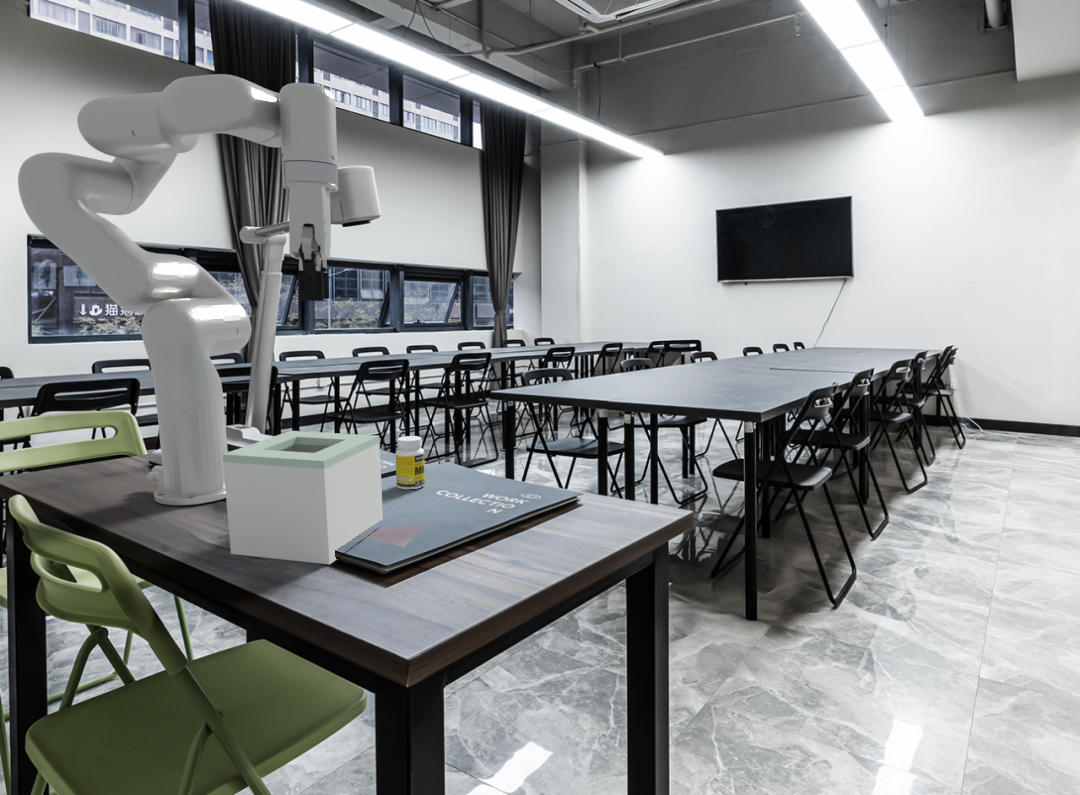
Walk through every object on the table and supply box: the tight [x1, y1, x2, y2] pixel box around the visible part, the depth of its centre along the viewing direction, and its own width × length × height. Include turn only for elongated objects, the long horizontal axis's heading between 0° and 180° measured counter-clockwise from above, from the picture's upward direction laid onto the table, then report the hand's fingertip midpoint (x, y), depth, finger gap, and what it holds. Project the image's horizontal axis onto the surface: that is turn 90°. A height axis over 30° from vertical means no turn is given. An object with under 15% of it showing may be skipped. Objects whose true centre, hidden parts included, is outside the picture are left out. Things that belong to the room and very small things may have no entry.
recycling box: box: [223, 430, 384, 565], centre depth 89 cm, size 14×14×13 cm
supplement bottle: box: [395, 435, 426, 489], centre depth 112 cm, size 5×5×8 cm
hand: (315, 299), depth 98 cm, fingers open, 9 cm apart
